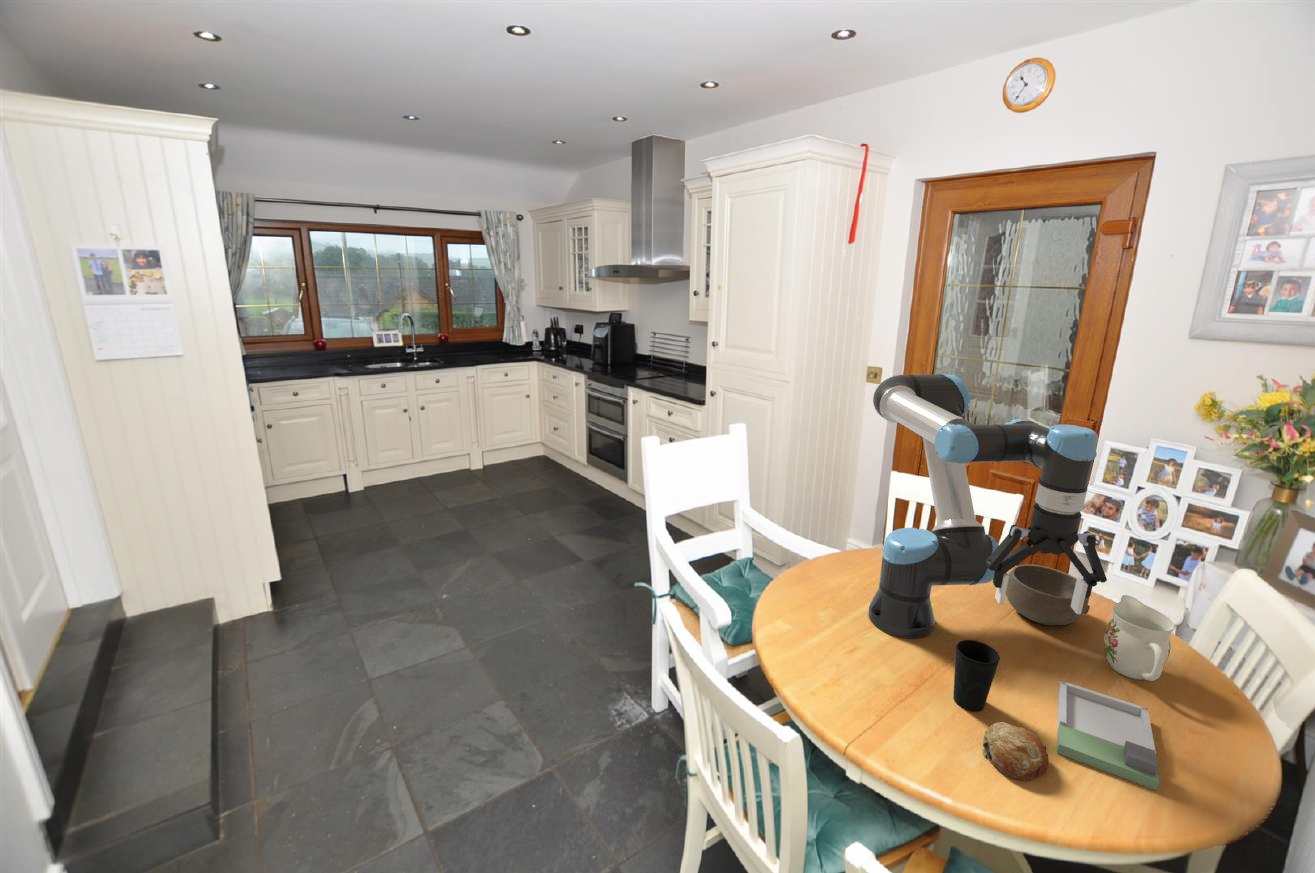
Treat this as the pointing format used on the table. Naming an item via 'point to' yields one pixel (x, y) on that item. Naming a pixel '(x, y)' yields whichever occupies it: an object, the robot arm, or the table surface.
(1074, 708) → the green and grey tray
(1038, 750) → the bread roll
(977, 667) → the cup
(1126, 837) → the table surface
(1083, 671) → the table surface
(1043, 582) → the bowl
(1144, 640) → the pitcher
